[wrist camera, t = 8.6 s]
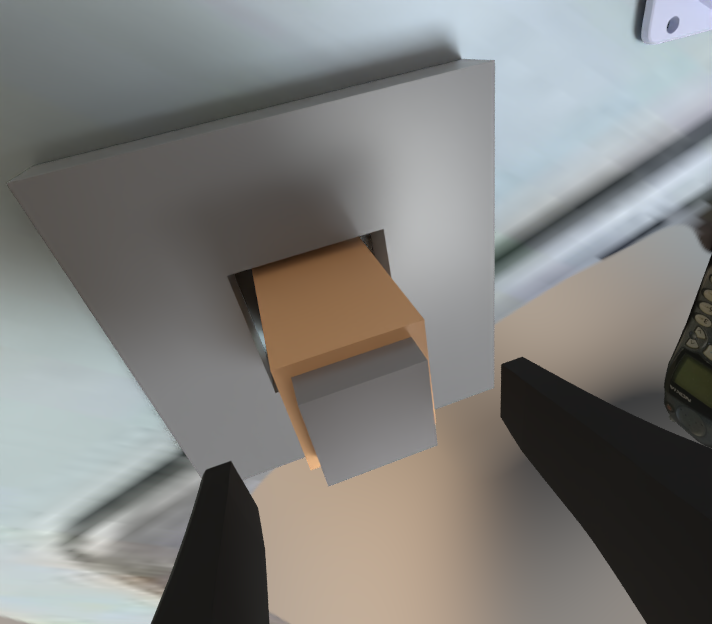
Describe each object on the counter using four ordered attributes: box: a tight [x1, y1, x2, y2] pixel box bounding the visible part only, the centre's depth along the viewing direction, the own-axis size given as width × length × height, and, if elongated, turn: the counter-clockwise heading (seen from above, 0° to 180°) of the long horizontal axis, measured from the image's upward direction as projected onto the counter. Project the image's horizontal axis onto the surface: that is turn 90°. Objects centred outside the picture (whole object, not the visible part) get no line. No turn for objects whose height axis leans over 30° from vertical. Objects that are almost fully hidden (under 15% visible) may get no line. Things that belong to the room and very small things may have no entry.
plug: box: [252, 236, 437, 486], centre depth 14 cm, size 4×4×8 cm
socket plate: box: [6, 59, 495, 480], centre depth 17 cm, size 14×14×2 cm
